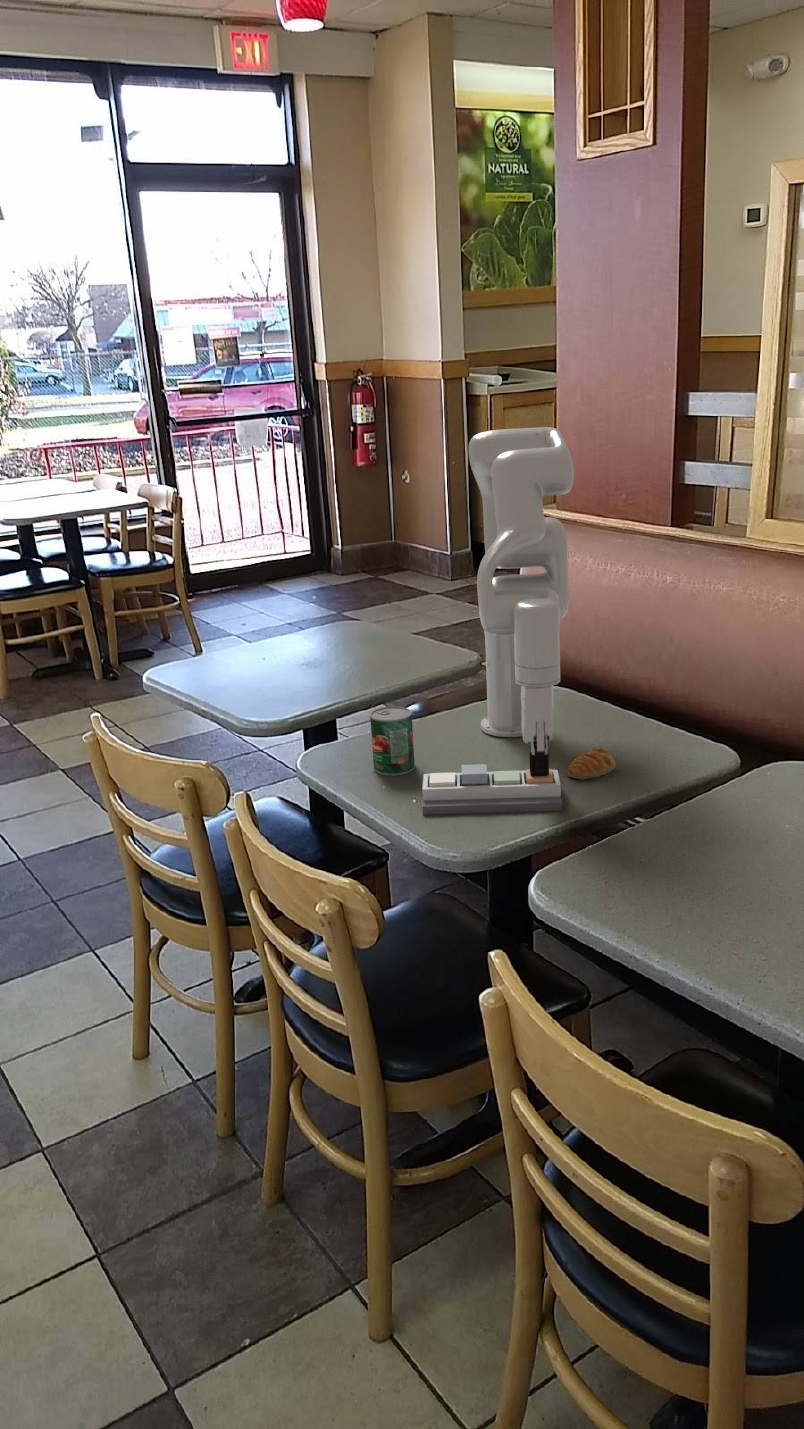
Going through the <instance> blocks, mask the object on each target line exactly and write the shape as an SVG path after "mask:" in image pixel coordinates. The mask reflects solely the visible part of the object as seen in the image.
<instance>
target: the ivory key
mask: <svg viewBox="0 0 804 1429" xmlns="http://www.w3.org/2000/svg"><path fill="white" fill-rule="evenodd" d="M455 773H456V772H432V773H429V774H430V781H429V785H430V787H452V786H455Z"/></svg>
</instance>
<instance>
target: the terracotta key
mask: <svg viewBox="0 0 804 1429" xmlns="http://www.w3.org/2000/svg"><path fill="white" fill-rule="evenodd" d="M551 770H552V768H549V775H548V776H531V775H530V768H529V769H528V768H527V769H525V771H526V783H527V784H547V783H553V776H552V771H551Z"/></svg>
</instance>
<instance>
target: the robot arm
mask: <svg viewBox="0 0 804 1429" xmlns="http://www.w3.org/2000/svg"><path fill="white" fill-rule="evenodd" d="M468 458H469V465H470V468H471V472H472V474H473V476H474V478H475V481H476V483H477V486H478V489H479V491H480V495H481V500H482V516H483V517H482V518H483V535H484V537H483V538H484V541H483V542H484V551H485V554H484V555H483V557H482V559H481V561H480V564H479V567H478V571H477V578H476V589H477V602H478V612H479V619H480V624H481V626H482V628H483V631H484V632H483V633H484V641H485V642H484V645H485V666H486V668H485V673H486V675H485V676H486V698H487V700H486V701H487V702H486V703H487V704H486V705H487V716H486V717H483V719H482V720H481V721H480V729H481V731H482V732H483V733H485V734H487V735H489V736H493V737H494V736H495V737H499V738H519V737H522V740H523V742H524V743H525V744H528V743H530V751H529V753H528V754H529V769H530V775H531V776H548V775H549V769H550V755H549V750H548V747H549V746H548V744H549V743H551V742H552V741H553V738H554V735H553V734H554V733H553V732H554V686H556V685H558V684H559V683H560V682H561V642H560V641H561V640H560V639H561V636H560V634H561V632H560V631H561V630H560V629H561V628H560V627H561V626H560V625H561V624H560V622H562V620H563V618H564V617H565V616H567V613H568V609H569V598H570V597H569V595H570V594H569V592H570V591H569V560H568V558H569V557H568V556H569V555H568V538H567V534H566V530H565V527H564V524H563V523H562V522H561V521H560V519H558V518H555V517H549V516H546V517H545V513H544V503H543V497H549V496H550V497H551V496H563V495H567V494H568V493H570V492H571V490H572V488H573V485H574V480H575V469H574V461H573V458H572V455H571V451H570V449H569V446H568V445H567V442H566V441H565V439H564V437H563V434H562V433H561V431H560V430H559V429H557V428H555V427H552V426H541V427H539V426H538V427H537V426H536V427H523V428H503V429H502V428H501V429H492V430H486V431H481V432H479V433H477V434H475V435H473V436H472V437H471V439H470V440H469V443H468ZM522 568H523V569H524V568H525V569H527V568H541V569H543V570H544V572H542V573H528V574H525V573H522V574H509V575H508V574H507V575H506V574H505V575H498V576H494V574H495V571H496V569H500V570H501V569H505V570H506V569H507V570H508V569H510V570H511V569H522Z"/></svg>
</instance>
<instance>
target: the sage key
mask: <svg viewBox="0 0 804 1429" xmlns="http://www.w3.org/2000/svg"><path fill="white" fill-rule="evenodd" d="M519 771H520V770H493V772H494V785H515V784H520V775H519Z"/></svg>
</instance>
